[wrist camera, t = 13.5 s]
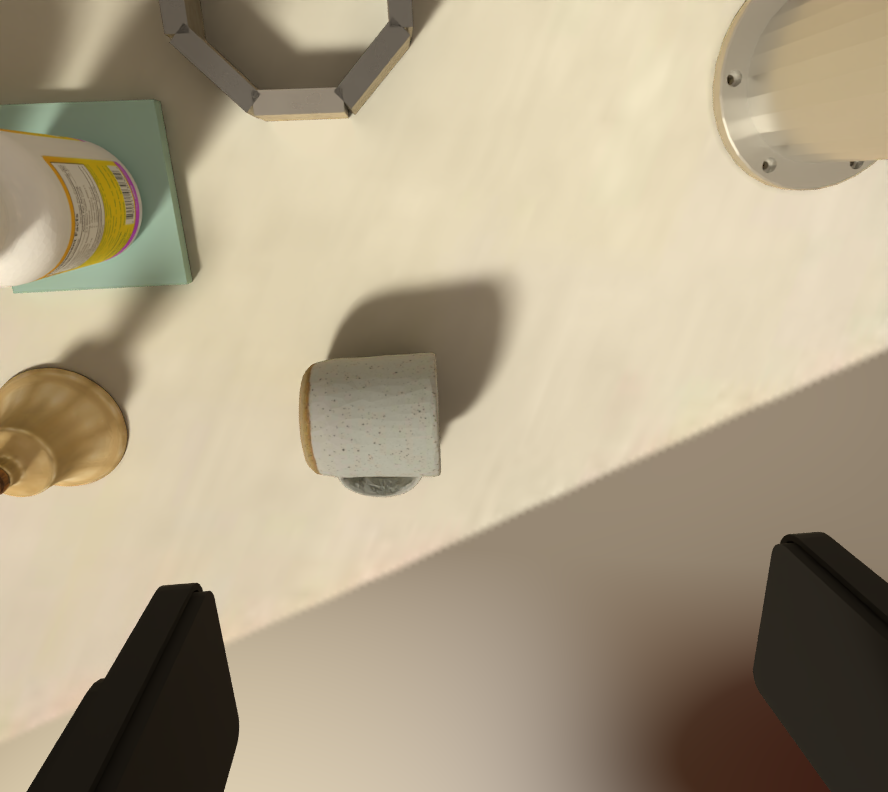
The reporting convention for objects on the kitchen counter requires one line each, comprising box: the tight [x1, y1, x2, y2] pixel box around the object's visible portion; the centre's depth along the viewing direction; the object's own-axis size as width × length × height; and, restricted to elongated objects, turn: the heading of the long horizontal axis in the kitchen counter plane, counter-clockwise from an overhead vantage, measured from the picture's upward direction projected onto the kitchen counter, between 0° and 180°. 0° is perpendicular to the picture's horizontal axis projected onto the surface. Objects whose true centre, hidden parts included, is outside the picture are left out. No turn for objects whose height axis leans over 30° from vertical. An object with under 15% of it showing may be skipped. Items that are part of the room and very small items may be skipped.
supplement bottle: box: [0, 129, 142, 288], centre depth 28 cm, size 7×7×13 cm
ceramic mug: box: [299, 352, 441, 497], centre depth 37 cm, size 11×8×8 cm
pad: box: [0, 99, 192, 293], centre depth 35 cm, size 10×10×1 cm
